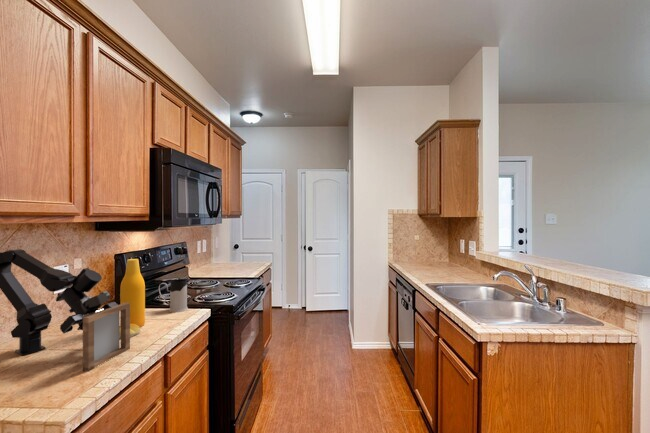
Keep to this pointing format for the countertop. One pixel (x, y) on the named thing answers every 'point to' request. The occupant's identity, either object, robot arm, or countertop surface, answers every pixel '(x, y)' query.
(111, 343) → the door
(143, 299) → the beer bottle
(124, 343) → the door frame
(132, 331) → the bread roll
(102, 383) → the countertop surface
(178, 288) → the grey cylinder with handle
